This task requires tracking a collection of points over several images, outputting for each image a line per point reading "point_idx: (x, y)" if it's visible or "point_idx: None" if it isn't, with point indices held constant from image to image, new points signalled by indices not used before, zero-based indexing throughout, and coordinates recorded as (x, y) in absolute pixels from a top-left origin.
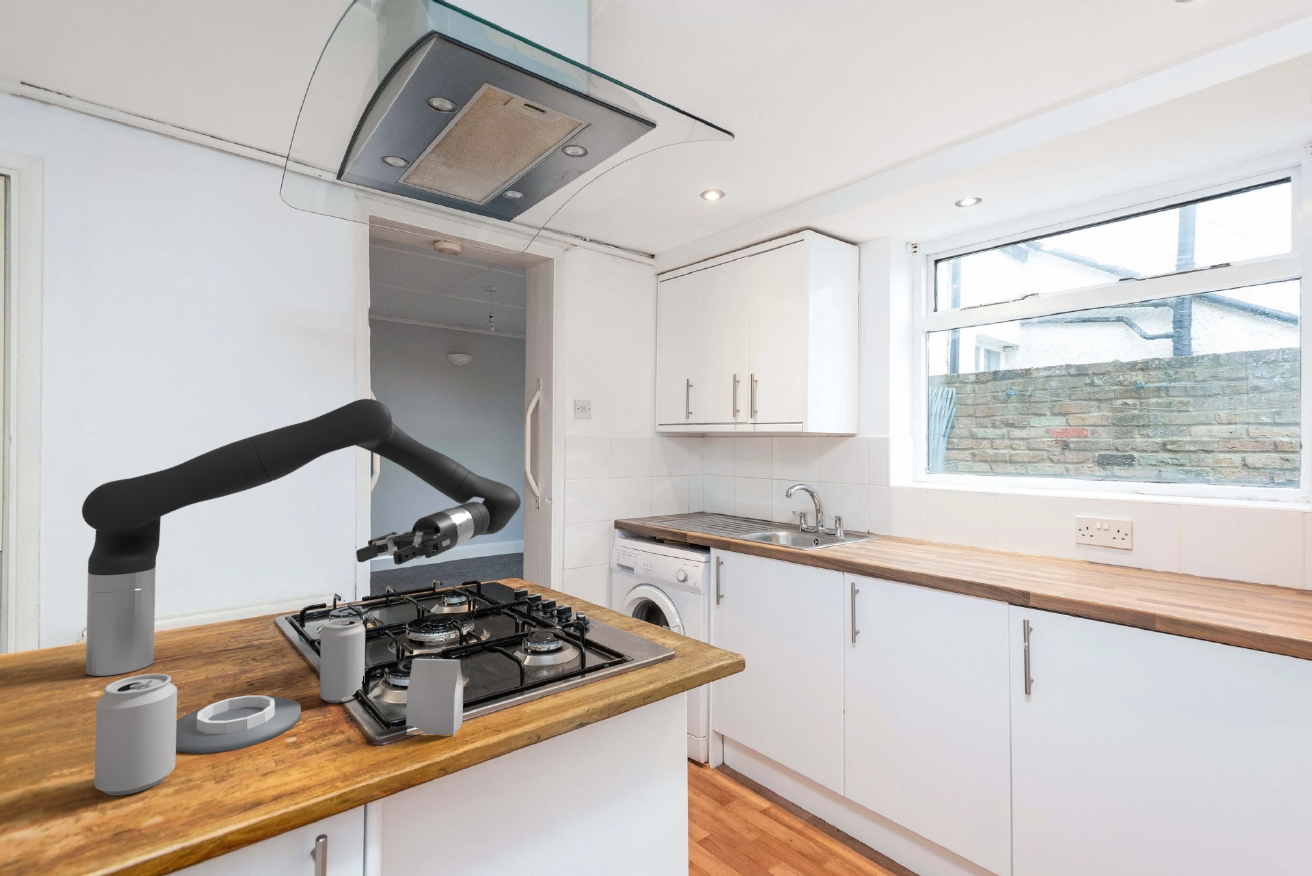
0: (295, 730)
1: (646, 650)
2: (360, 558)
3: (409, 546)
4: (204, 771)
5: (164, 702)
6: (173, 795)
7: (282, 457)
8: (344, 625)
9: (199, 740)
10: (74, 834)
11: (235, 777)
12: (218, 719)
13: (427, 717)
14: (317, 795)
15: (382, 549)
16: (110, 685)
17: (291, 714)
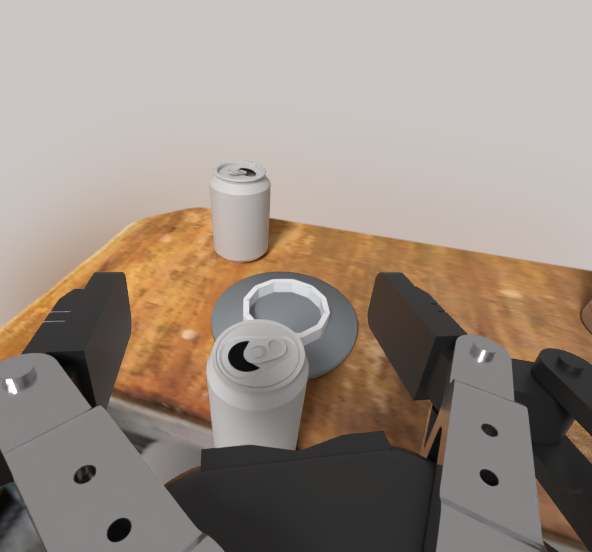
0: (205, 347)
1: None
2: (371, 305)
3: (70, 338)
4: (206, 273)
5: (210, 188)
6: (189, 253)
7: None
8: (300, 391)
9: (260, 280)
10: (200, 221)
11: (166, 279)
12: (301, 306)
13: None
14: (53, 292)
15: (555, 487)
16: (255, 164)
17: None
